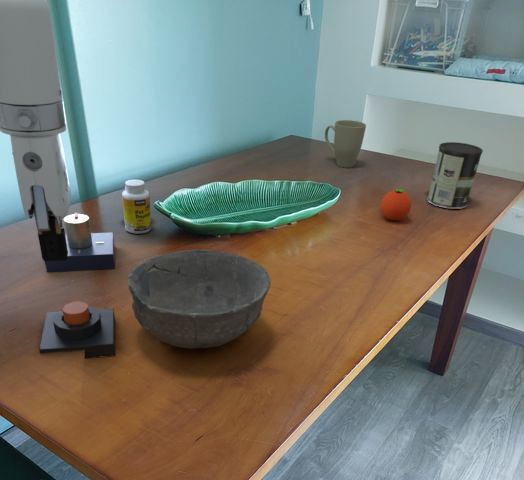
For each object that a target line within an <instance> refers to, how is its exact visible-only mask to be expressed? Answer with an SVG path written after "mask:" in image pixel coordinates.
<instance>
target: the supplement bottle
mask: <svg viewBox="0 0 524 480" xmlns="http://www.w3.org/2000/svg"><path fill="white" fill-rule="evenodd" d="M124 189H125V190H123V191H122V193H121V198H122V199H121V200H122V208H123V209H122V210H123V217H124V218H123V220H124V221H123V222H124V228H125V230H126V232H129V233H131V234H135V235H138V234H146V233H148V232H150V231H151V229H152V212H151V200H150V199H151V198H150V196H151V195H150V192H149V191H148V190H147V189H146V184H145V181H144V180H142V179H129V180H126V181H125V182H124Z"/></svg>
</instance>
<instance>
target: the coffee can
mask: <svg viewBox="0 0 524 480" xmlns="http://www.w3.org/2000/svg"><path fill="white" fill-rule="evenodd" d="M483 151H484V150H483V148H481V147H480V146H477V145H475V144H471V143H470V144H469V143H464V142H455V141H454V142H453V141H449V142H442V143H440V144H439V146H438V152H437V156H436V157H437V158H436V161H435V166H434V169H433V173H432V174H433V175H432V178H431V183H430V188H429V191H428V196H427V199H426V201H427V200H428V201H427V203H428V202H429V203H431V204H433V205H435V206H439V207H444V208H463V207H466V206H467V207H468V203H469V200H470V195H471V192H472V189H473V185H474V182H475V178H476V174H477V171H478V168H479V164H480V161H481V157H482V154H483ZM429 203H428V204H429ZM431 204H430V205H431ZM433 205H432V206H433ZM435 206H434V207H435ZM467 207H466V208H467Z"/></svg>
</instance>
